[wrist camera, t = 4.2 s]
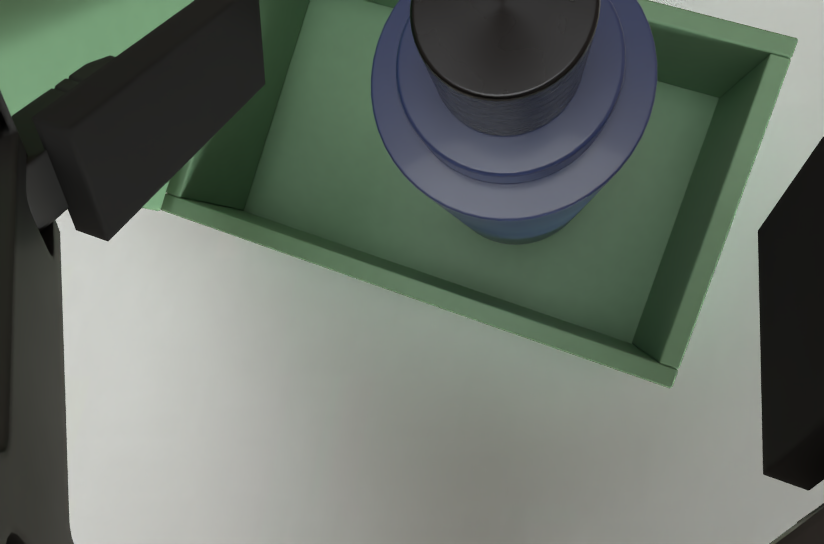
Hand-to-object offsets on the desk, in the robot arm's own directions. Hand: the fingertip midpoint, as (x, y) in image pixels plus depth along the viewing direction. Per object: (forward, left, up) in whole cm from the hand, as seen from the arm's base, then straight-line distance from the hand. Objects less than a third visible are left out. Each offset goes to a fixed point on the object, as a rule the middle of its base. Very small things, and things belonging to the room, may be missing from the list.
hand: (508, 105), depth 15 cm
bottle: (0, 0, -9) cm, 9 cm away
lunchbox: (+2, 0, -10) cm, 10 cm away
